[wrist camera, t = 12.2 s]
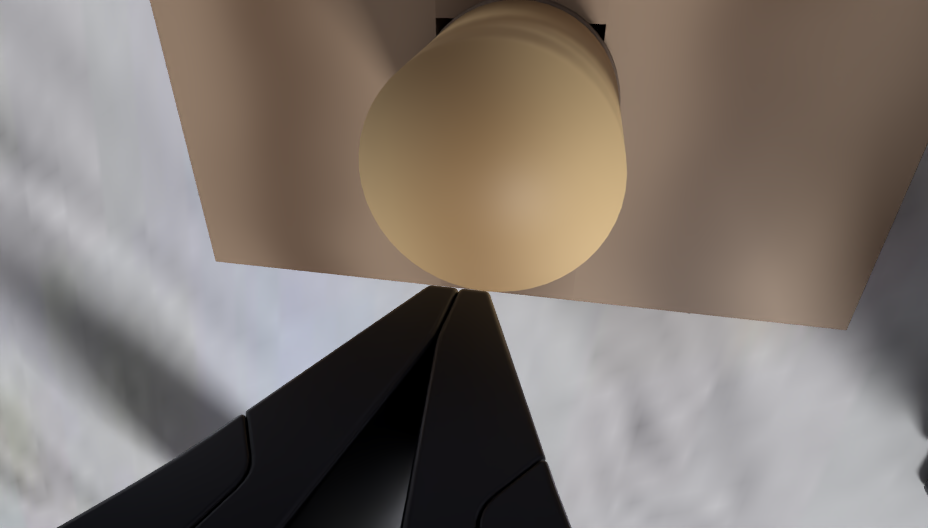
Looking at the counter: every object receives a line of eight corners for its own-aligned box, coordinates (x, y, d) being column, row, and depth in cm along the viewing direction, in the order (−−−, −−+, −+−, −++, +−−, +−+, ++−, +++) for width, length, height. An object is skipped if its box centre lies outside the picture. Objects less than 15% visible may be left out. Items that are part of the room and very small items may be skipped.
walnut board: (1007, -173, 13) (1070, -184, 11) (824, 292, 19) (846, 330, 17) (158, -164, 16) (107, -171, 14) (244, 233, 22) (216, 261, 20)
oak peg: (631, -12, 15) (653, 42, 10) (604, 178, 18) (609, 306, 12) (431, -18, 16) (343, 28, 10) (435, 165, 19) (367, 280, 13)
